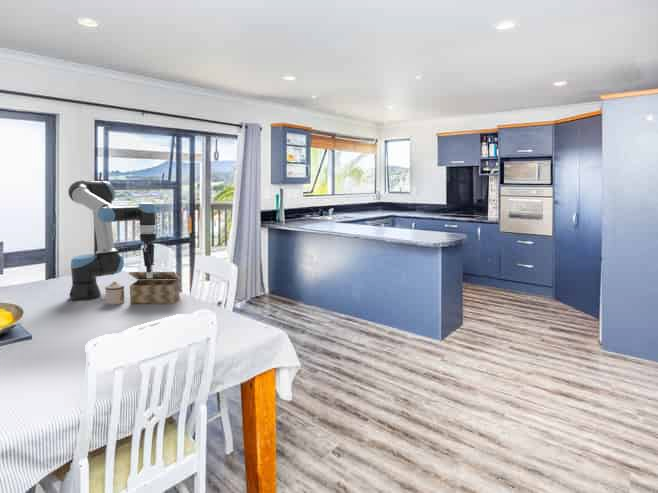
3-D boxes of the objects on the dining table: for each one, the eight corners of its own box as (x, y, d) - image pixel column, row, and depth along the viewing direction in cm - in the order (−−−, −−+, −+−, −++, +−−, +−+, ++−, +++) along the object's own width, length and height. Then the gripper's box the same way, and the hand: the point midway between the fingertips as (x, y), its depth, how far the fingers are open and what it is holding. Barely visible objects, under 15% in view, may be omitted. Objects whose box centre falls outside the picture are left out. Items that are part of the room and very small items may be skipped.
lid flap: (128, 273, 224) (128, 271, 225) (137, 279, 238) (137, 278, 238) (173, 273, 227) (174, 271, 227) (179, 279, 241) (180, 277, 241)
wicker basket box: (130, 304, 226) (129, 285, 224) (139, 297, 240) (138, 279, 238) (173, 303, 228) (172, 285, 227) (179, 296, 242) (179, 279, 241)
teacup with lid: (124, 304, 225) (123, 282, 224) (105, 305, 222) (103, 283, 220) (125, 298, 236) (124, 278, 235) (107, 300, 233) (106, 279, 231)
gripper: (151, 234, 214) (153, 280, 217) (159, 231, 227) (160, 275, 230) (136, 234, 213) (138, 280, 216) (144, 231, 226) (146, 275, 229)
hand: (149, 277), depth 223 cm, fingers closed
